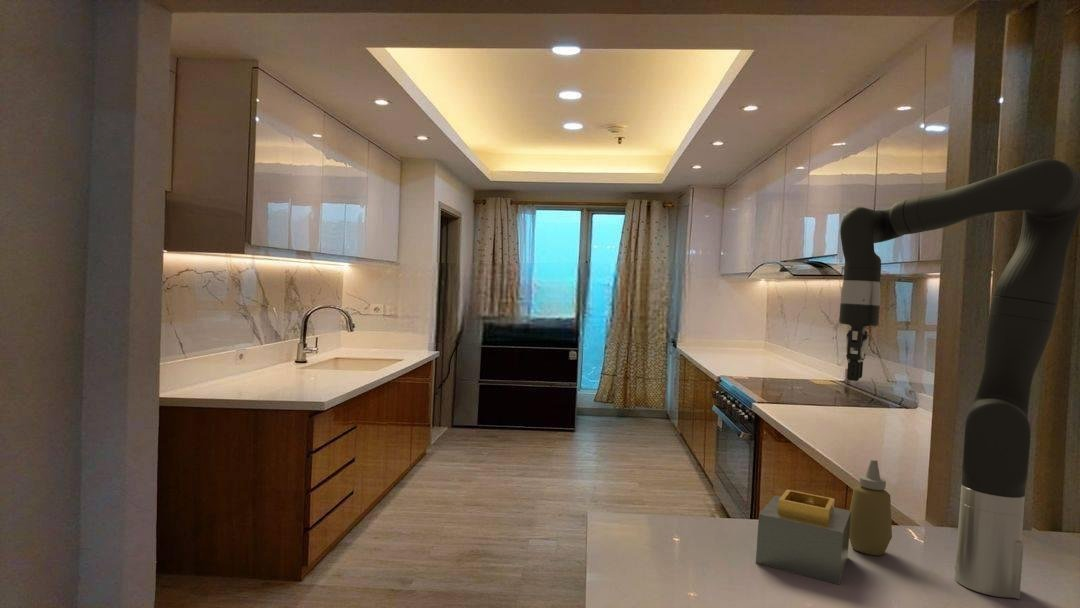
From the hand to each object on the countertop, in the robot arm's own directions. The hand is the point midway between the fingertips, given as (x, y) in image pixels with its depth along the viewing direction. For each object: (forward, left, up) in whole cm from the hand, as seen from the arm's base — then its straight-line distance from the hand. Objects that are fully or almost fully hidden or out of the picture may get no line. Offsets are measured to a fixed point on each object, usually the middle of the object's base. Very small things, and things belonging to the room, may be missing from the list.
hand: (854, 379), depth 136 cm
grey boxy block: (+5, +22, -33) cm, 40 cm away
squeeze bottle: (-5, +7, -33) cm, 34 cm away
